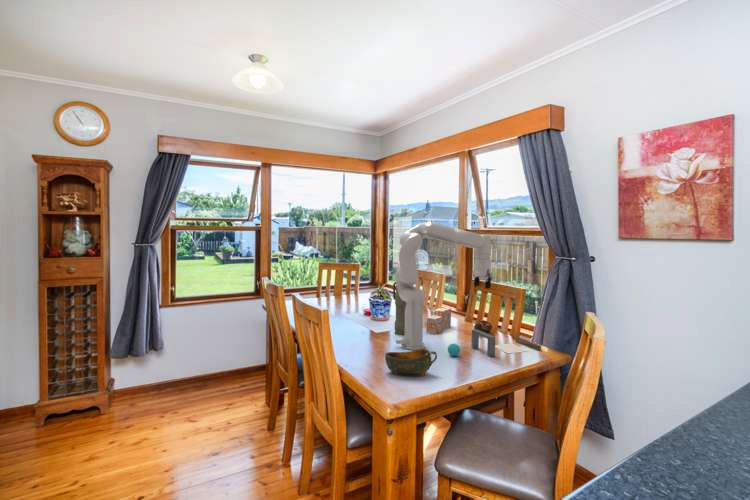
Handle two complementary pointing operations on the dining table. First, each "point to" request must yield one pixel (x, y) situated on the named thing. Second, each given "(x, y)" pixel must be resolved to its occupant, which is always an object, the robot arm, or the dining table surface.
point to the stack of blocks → (439, 320)
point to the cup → (409, 362)
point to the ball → (453, 349)
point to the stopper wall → (528, 344)
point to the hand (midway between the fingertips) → (482, 287)
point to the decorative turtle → (483, 326)
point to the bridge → (490, 342)
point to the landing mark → (510, 348)
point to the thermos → (399, 312)
